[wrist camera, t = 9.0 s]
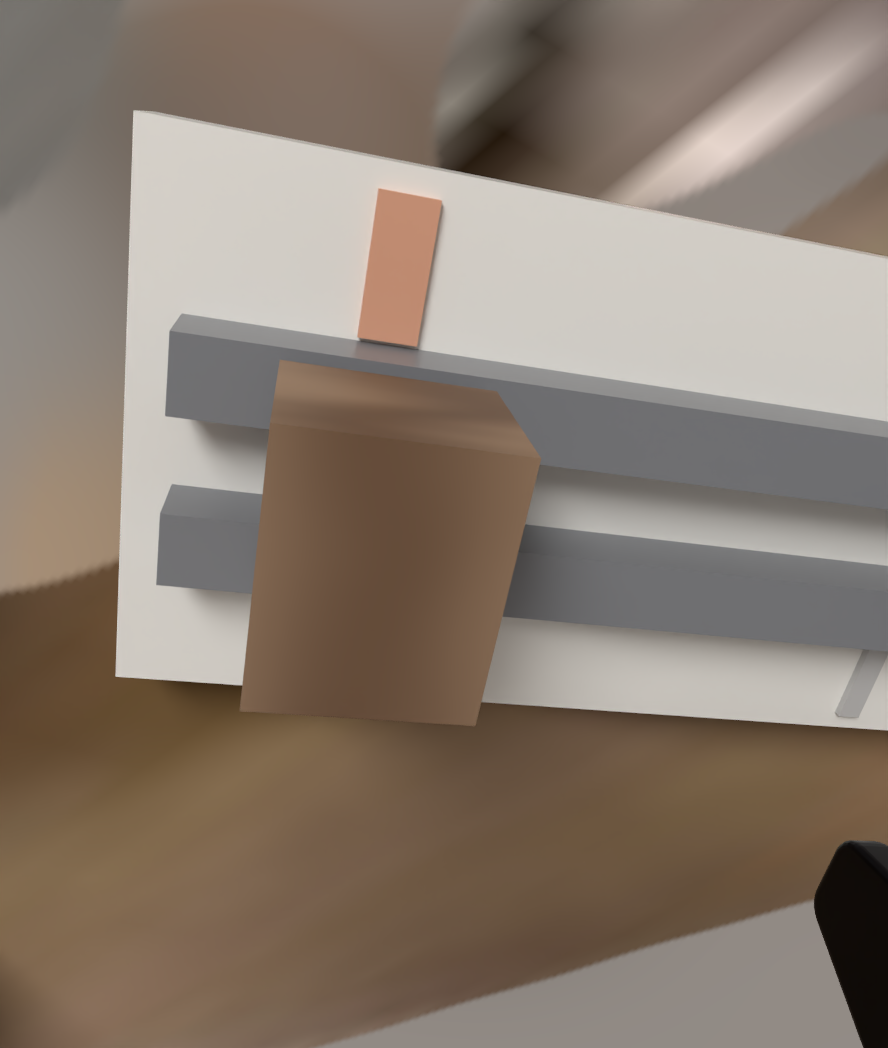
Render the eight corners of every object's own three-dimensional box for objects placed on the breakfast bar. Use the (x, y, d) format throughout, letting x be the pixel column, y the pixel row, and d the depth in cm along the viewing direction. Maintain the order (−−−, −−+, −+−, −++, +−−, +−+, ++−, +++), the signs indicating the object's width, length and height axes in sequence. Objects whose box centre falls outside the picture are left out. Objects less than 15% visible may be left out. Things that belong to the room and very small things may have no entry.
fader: (481, 367, 17) (540, 458, 13) (437, 580, 19) (475, 725, 15) (283, 337, 16) (270, 422, 12) (259, 562, 18) (239, 711, 14)
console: (1144, 307, 21) (1286, 339, 18) (944, 695, 26) (1029, 773, 23) (153, 111, 17) (115, 109, 13) (132, 629, 21) (100, 717, 18)
